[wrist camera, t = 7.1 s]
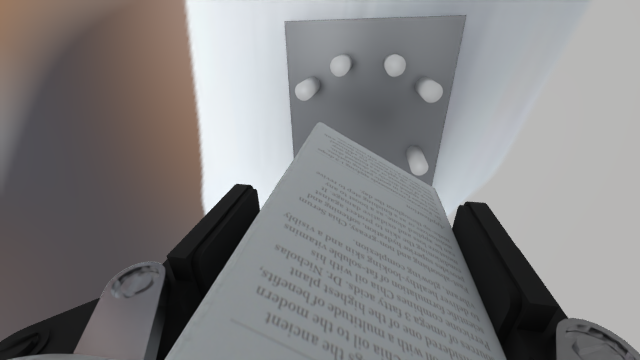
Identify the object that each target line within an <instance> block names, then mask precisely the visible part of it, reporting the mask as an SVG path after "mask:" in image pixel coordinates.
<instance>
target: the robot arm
mask: <svg viewBox="0 0 640 360" xmlns="http://www.w3.org/2000/svg"><path fill="white" fill-rule="evenodd" d="M259 212H260V208H259V201H258V194H257V190H256V189H253V187H252V186H251V185H244V184H236V185H234V186H233V188H232V189H231V190H230V191H229V192H228V193H227V194H226V195H225V196H224V197H223V198H222V199H221V200H220V201H219V202H218V203H217V204H216V205H215V206H214V207H213V208H212V209H211V210H210V211H209V212H208V213H207V215H206V216H205V217H204V218H203V219H202V220H201V221H200V222H199V223H198V224H197V225H196V226H195V227H194V228H193V229H192V230H191V231H190V232H189V233H188V234H187V235H186V236H185V238H183V239H182V241H181V242H180V243H179V244H178V245H177V246H176V247H175V248H174V249H173V250H172V251H171V252H170V253H169V254H168V255H167V258H168V259H167V260H166V261H165V262H164V263H163V264H160V263H158V262H143V263H139V264H136V265H133V266H131V267H129V268H127V269H125V270H123V271H122V272H120V273H119V274H117V275H116V276H115V277H114V278H113V279H112V280H110V282H109V283H108V284H107V286H106V287H105V289H104V292H103V293H102V296H101V297H100V298H98V299H96V300H93V301H91V302H88V303H86V304H83V305H81V306H78V307H76V308H73V309H71V310H68V311H66V312H63V313H61V314H58V315H56V316H53V317H51V318H48V319H46V320H43V321H41V322H38V323H36V324H33V325H31V326H29V327H27V328H24V329H22V330H20V331H18V332H16V333H14V334H12V335H11V336H9V337H7V338H6V339H4V340H2V341H1V342H0V360H165V358H166V357H167V355H168V353H169V352H170V350H171V349H172V347H173V346H174V344H175V343H176V341H177V339H178V338H179V336H180V335H181V333H182V332H183V330H184V328H185V327H186V325H187V324H188V322H189V321H190V319H191V318H192V316H193V314H194V313H195V311H196V310H197V308H198V307H199V305H200V304H201V302H202V301H203V299H204V298H205V296H206V294H207V293H208V291H209V290H210V288H211V287H212V285H213V283H214V282H215V280H216V279H217V277H218V275H219V274H220V273H221V271H222V270H223V268H224V267H225V265H226V264H227V262H228V260H229V259H230V257H231V256H232V254H233V253H234V251H235V249H236V248H237V246H238V245H239V243H240V242H241V240H242V238H243V237H244V235H245V234H246V232H247V231H248V229H249V227H250V226H251V224H252V223H253V221H254V220H255V218H256V217H257V215H258V213H259ZM452 230H453V233H454V235H455V238H456V240H457V242H458V245H459V247H460V250H461V252H462V254H463V257H464V259H465V261H466V264H467V266H468V268H469V271H470V273H471V276H472V278H473V280H474V283H475V285H476V288H477V290H478V292H479V295H480V297H481V300H482V302H483V304H484V307H485V309H486V311H487V314H488V316H489V318H490V320H491V323H492V325H493V327H494V330H495V333H496V335H497V338H498V340H499V342H500V345H501V347H502V349H503V352H504V354H505V357H506V359H507V360H640V354H639V353H638V352H637V351H636V350H635V349H634V348H633V347H632V346H631V345H629V344H628V343H627V342H626V341H625V340H623V339H622V338H620V337H619V336H617V335H616V334H614V333H613V332H611V331H610V330H607V329H605V328H604V327H602V326H599V325H598V324H595V323H592V322H589V321H586V320H583V319H576V318H569V319H568V317H567V316H566V315H565V313H564V312H563V311H562V309H561V307H560V306H559V305H558V303H557V302H556V300H555V299H554V298H553V296H552V295H551V293H550V292H549V291H548V289H547V288H546V286H545V285H544V283H543V282H542V281H541V279H540V278H539V276H538V275H537V274H536V272H535V271H534V269H533V268H532V267H531V265H530V264H529V262H528V261H527V260H526V258H525V257H524V255H523V254H522V253H521V251H520V250H519V248H518V247H517V246H516V245H515V243H514V242H513V241H512V239H511V238H510V236H509V235H508V233H507V232H506V231H505V229H504V228H503V227H502V225H501V224H500V222H499V221H498V219H497V218H496V217H495V215H494V214H493V212H492V211H491V209H490V208H489V207H488V205H487V204H486V203H479V202H465V204H464V205H460V206H459V207H458V209H457V213H456V216H455V220H454V224H453V227H452Z"/></svg>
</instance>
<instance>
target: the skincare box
mask: <svg viewBox="0 0 640 360" xmlns="http://www.w3.org/2000/svg"><path fill="white" fill-rule="evenodd" d="M165 360H507V359H506V357H505V354H504V352H503V349H502V347H501V345H500V342H499V340H498V338H497V335H496V333H495V330H494V327H493V325H492V323H491V320H490V318H489V316H488V314H487V311H486V309H485V307H484V304H483V302H482V300H481V297H480V295H479V292H478V290H477V288H476V285H475V283H474V280H473V278H472V276H471V273H470V271H469V268H468V266H467V264H466V261H465V259H464V257H463V254H462V252H461V250H460V247H459V245H458V242H457V240H456V238H455V235H454V233H453V230H452V228H451V226H450V223H449V221H448V219H447V216H446V214H445V211H444V209H443V206H442V204H441V201H440V199H439V197H438V194H437V192H436V190H435V189H434V188H433V187H431V186H430V185H428V184H426V183H424V182H423V181H421V180H419V179H417V178H416V177H414V176H412V175H411V174H409V173H407V172H406V171H404V170H402V169H400V168H399V167H397V166H395V165H394V164H392V163H390V162H388V161H387V160H385V159H383V158H382V157H380V156H378V155H376V154H375V153H373V152H371V151H369V150H368V149H366V148H364V147H363V146H361V145H359V144H357V143H356V142H354V141H352V140H350V139H349V138H347V137H345V136H344V135H342V134H340V133H338V132H337V131H335V130H333V129H332V128H330V127H328V126H327V125H325V124H324V123H321V122H318V123H317V124H316V126H315V127H314V128H313V130H312V132H311V133H310V135H309V136H308V138H307V139H306V141H305V143H304V144H303V146H302V147H301V149H300V150H299V152H298V154H297V155H296V157H295V158H294V160H293V162H292V163H291V164H290V166H289V167H288V169H287V170H286V172H285V173H284V175H283V176H282V178H281V179H280V181H279V182H278V184H277V186H276V187H275V189H274V190H273V192H272V193H271V195H270V197H269V198H268V200H267V201H266V203H265V204H264V206H263V207H262V209H261V210H260V212H259V213H258V215H257V217H256V218H255V220H254V221H253V223H252V224H251V226H250V227H249V229H248V231H247V232H246V234H245V235H244V237H243V238H242V240H241V242H240V243H239V245H238V246H237V248H236V249H235V251H234V253H233V254H232V256H231V257H230V259H229V260H228V262H227V264H226V265H225V267H224V268H223V270H222V271H221V273H220V274H219V275H218V277H217V279H216V280H215V282H214V283H213V285H212V287H211V288H210V290H209V291H208V293H207V294H206V296H205V298H204V299H203V301H202V302H201V304H200V305H199V307H198V308H197V310H196V311H195V313H194V314H193V316H192V318H191V319H190V321H189V322H188V324H187V325H186V327H185V328H184V330H183V332H182V333H181V335H180V336H179V338H178V339H177V341H176V343H175V344H174V346H173V347H172V349H171V350H170V352H169V353H168V355H167V357H166V358H165Z"/></svg>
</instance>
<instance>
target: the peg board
mask: <svg viewBox="0 0 640 360" xmlns="http://www.w3.org/2000/svg"><path fill="white" fill-rule="evenodd" d="M465 20H466V15H458V16H429V17H400V18H371V19H342V20H313V21H285V35H286V49H287V64H288V79H289V93H290V108H291V123H292V137H293V152H294V158H295V157H296V155H297V154H298V152H299V150H300V149H301V147H302V146H303V144H304V143H305V141H306V139H307V138H308V136H309V135H310V133H311V132H312V130H313V128H314V127H315V126H316V124H317V123H318V122H321V123H324V124H325V125H327V126H328V127H330V128H332V129H333V130H335V131H337V132H338V133H340V134H342V135H344V136H345V137H347V138H349V139H350V140H352V141H354V142H356V143H357V144H359V145H361V146H363V147H364V148H366V149H368V150H369V151H371V152H373V153H375V154H376V155H378V156H380V157H382V158H383V159H385V160H387V161H388V162H390V163H392V164H394V165H395V166H397V167H399V168H400V169H402V170H404V171H406V172H407V173H409V174H411V175H412V176H414V177H416V178H417V179H419V180H421V181H423V182H424V183H426V184H428V185H430V186H431V187H432V182H433V177H434V172H435V167H436V162H437V157H438V153H439V148H440V143H441V138H442V133H443V128H444V123H445V118H446V113H447V108H448V103H449V98H450V93H451V88H452V84H453V79H454V74H455V69H456V64H457V59H458V54H459V49H460V44H461V39H462V34H463V29H464V24H465Z"/></svg>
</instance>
